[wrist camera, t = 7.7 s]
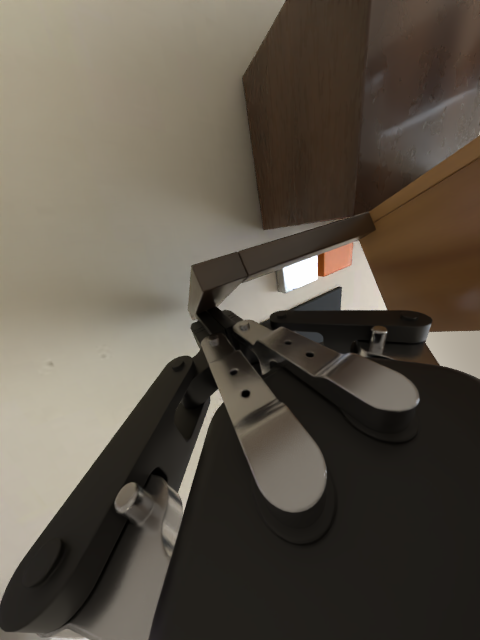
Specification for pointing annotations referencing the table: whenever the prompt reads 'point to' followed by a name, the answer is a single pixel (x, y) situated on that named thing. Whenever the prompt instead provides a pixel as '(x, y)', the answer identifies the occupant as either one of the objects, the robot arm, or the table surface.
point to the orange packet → (335, 260)
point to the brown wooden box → (386, 248)
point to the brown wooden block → (359, 102)
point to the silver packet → (297, 274)
